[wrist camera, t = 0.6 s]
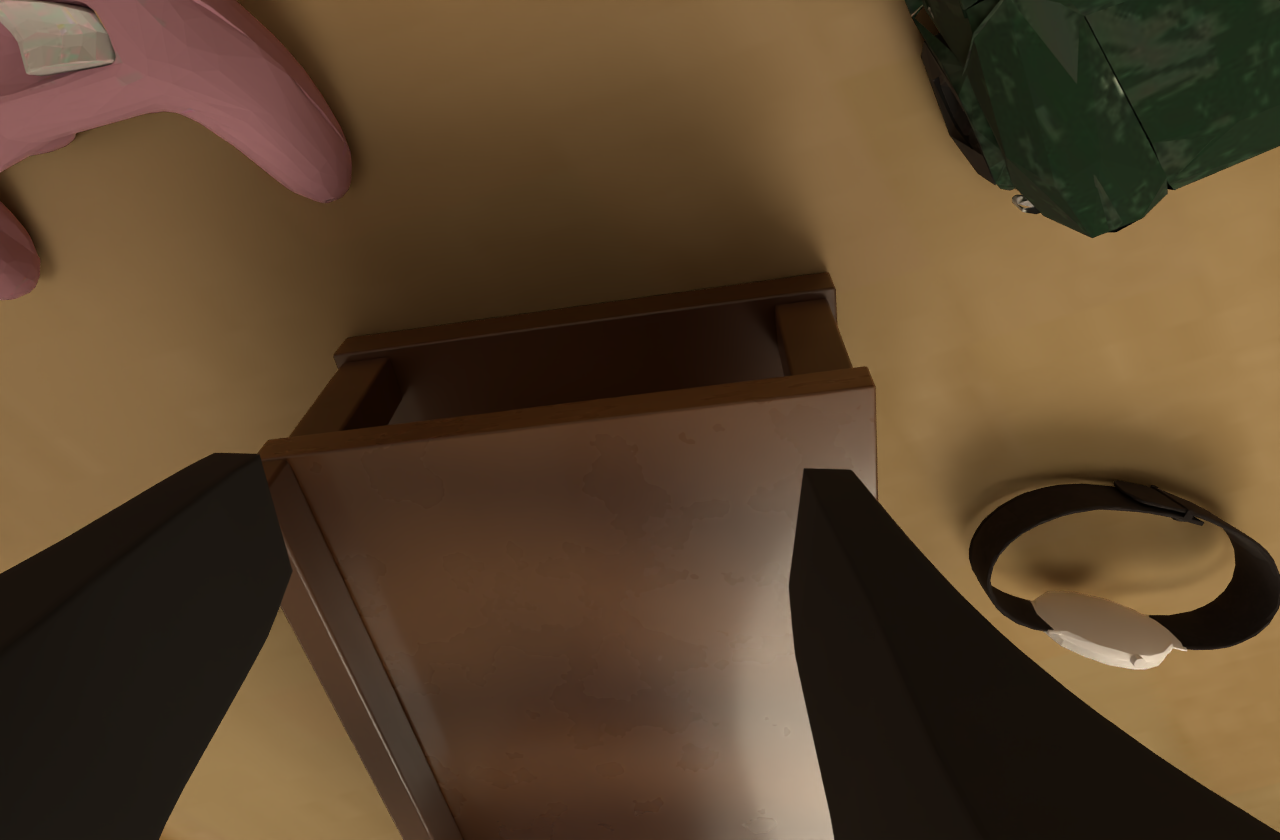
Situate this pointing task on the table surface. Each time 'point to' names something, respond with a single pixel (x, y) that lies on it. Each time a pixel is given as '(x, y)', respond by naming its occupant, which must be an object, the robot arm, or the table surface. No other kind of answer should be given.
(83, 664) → the robot arm
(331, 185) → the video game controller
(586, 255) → the table surface
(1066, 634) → the watch
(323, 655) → the shelf rack
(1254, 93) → the miniature car
